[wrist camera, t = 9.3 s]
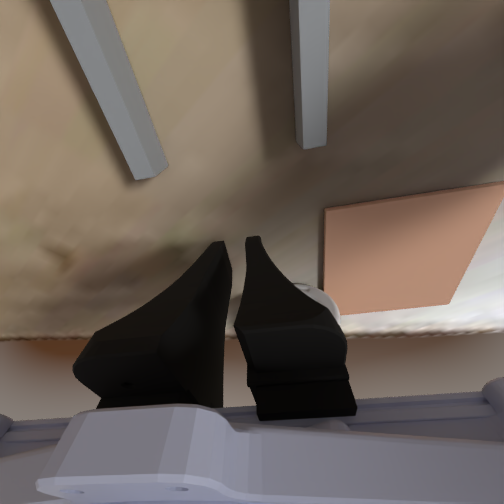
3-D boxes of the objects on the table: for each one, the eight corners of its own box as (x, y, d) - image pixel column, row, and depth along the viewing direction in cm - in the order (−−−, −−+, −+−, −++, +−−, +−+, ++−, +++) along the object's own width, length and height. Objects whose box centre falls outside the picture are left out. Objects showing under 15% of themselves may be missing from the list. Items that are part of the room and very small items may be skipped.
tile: (503, 181, 12) (510, 183, 12) (445, 300, 18) (448, 304, 18) (324, 208, 13) (326, 211, 13) (322, 313, 19) (323, 317, 19)
